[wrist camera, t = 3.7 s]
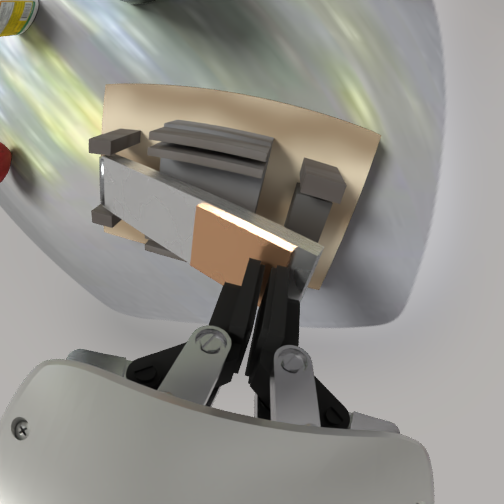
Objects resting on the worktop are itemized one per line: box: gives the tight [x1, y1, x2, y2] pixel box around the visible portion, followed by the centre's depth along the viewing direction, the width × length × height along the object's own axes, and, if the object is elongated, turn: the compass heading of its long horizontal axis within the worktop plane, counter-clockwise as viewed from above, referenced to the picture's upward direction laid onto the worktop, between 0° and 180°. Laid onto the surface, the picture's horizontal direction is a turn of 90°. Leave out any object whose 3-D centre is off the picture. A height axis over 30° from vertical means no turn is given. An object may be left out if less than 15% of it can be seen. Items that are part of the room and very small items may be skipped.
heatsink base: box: [89, 84, 381, 290], centre depth 19 cm, size 14×21×6 cm, turn 78°
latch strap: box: [100, 154, 324, 307], centre depth 15 cm, size 4×16×1 cm, turn 78°
